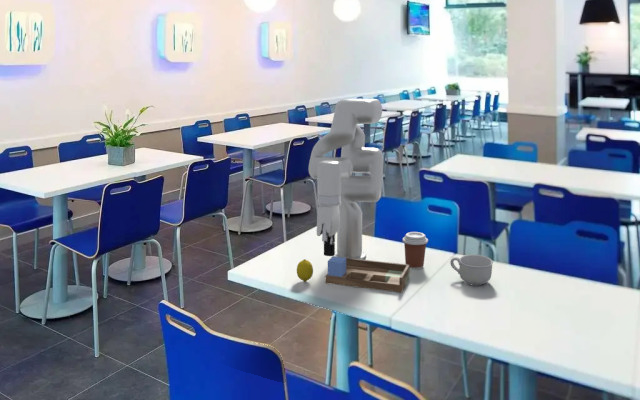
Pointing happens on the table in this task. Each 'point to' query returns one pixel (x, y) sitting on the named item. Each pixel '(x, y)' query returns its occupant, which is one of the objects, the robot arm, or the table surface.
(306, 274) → the lemon
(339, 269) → the blue block
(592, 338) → the table surface
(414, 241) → the coffee cup
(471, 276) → the teacup
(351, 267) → the wooden rimmed tray
